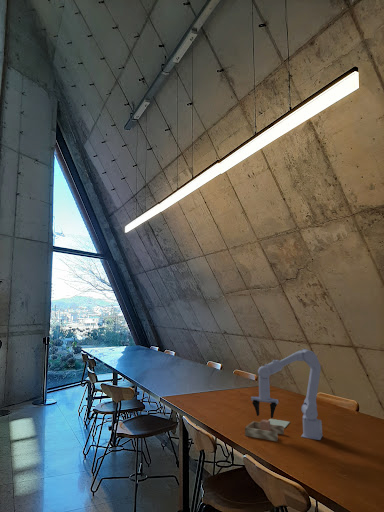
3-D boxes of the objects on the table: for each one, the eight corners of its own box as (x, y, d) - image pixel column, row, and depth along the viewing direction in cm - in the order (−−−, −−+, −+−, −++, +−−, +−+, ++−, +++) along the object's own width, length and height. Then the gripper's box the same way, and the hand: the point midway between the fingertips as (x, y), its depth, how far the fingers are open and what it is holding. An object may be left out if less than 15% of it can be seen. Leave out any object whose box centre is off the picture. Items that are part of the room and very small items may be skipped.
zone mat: (289, 422, 209) (289, 421, 209) (284, 428, 199) (284, 427, 199) (269, 419, 215) (269, 418, 215) (263, 424, 205) (263, 424, 205)
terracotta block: (270, 434, 189) (269, 420, 190) (268, 436, 185) (267, 422, 186) (263, 433, 191) (262, 419, 192) (260, 435, 187) (260, 421, 188)
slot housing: (283, 434, 190) (283, 426, 190) (277, 441, 179) (277, 432, 179) (253, 428, 198) (252, 421, 198) (245, 435, 187) (245, 427, 187)
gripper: (279, 389, 192) (280, 416, 189) (253, 386, 198) (254, 412, 196) (276, 392, 185) (276, 420, 183) (249, 389, 192) (250, 415, 190)
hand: (265, 416), depth 189 cm, fingers open, 7 cm apart
